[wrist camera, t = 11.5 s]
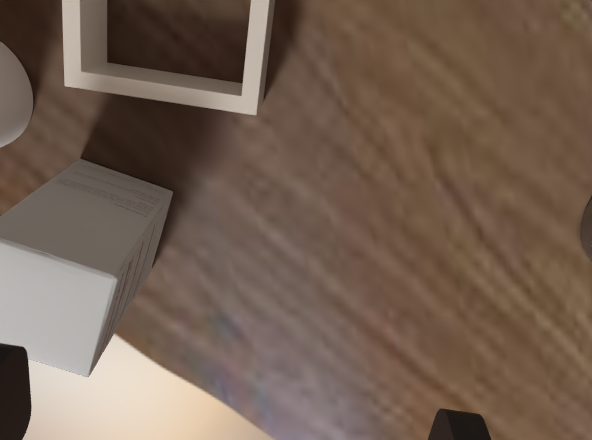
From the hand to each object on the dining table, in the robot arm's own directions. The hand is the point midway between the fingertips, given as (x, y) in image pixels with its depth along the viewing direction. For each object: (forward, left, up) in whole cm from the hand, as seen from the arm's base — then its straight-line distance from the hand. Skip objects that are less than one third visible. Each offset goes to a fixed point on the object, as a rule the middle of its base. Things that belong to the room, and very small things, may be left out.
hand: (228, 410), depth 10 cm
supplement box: (+12, +10, -28) cm, 32 cm away
